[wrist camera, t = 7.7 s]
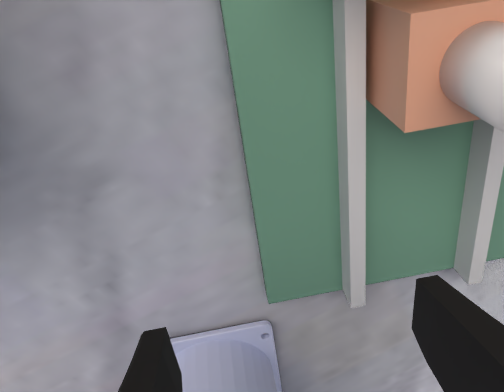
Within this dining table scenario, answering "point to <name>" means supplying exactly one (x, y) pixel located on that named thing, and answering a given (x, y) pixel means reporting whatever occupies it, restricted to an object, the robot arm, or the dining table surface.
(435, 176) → the pitch board
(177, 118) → the dining table surface
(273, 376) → the robot arm
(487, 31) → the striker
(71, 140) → the dining table surface
